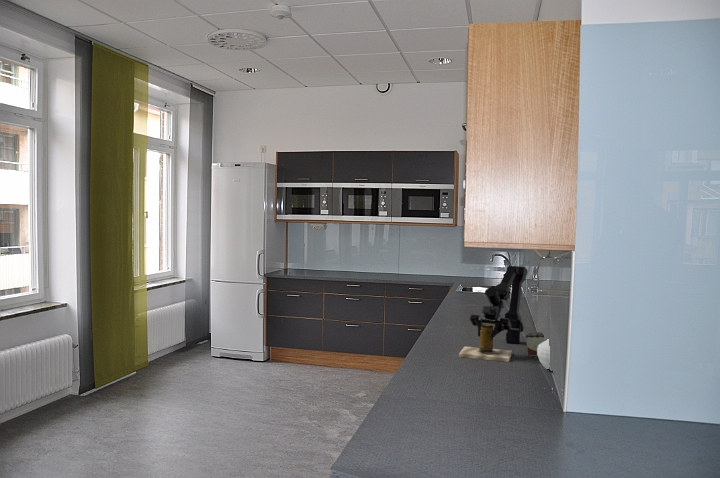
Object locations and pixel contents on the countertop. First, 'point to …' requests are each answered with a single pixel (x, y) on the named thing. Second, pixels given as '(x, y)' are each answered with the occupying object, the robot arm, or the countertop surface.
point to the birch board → (485, 354)
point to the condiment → (486, 339)
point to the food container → (533, 342)
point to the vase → (544, 353)
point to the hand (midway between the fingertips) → (485, 336)
